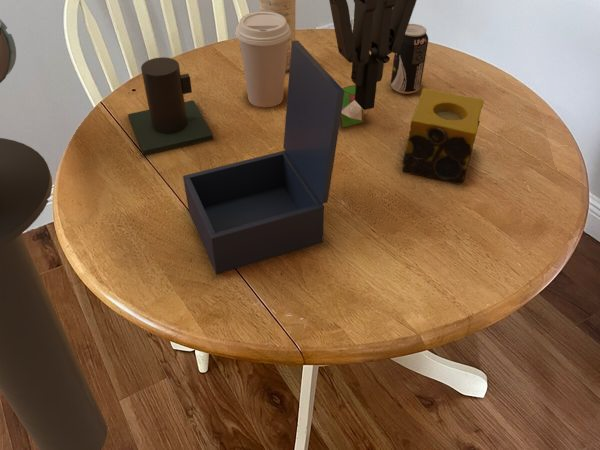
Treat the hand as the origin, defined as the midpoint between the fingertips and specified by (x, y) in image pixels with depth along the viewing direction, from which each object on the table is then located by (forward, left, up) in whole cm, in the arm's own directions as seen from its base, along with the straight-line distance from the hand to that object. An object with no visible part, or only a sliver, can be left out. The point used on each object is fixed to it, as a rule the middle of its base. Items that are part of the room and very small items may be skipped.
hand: (364, 103), depth 78 cm
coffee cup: (-32, -2, -17) cm, 36 cm away
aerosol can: (-43, +5, -17) cm, 46 cm away
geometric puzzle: (-19, +9, -17) cm, 27 cm away
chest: (0, -16, -17) cm, 23 cm away
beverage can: (-25, +24, -17) cm, 38 cm away
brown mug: (-29, -21, -16) cm, 39 cm away
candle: (-3, +17, -17) cm, 24 cm away
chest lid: (0, -8, -1) cm, 8 cm away
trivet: (-29, -21, -17) cm, 40 cm away
